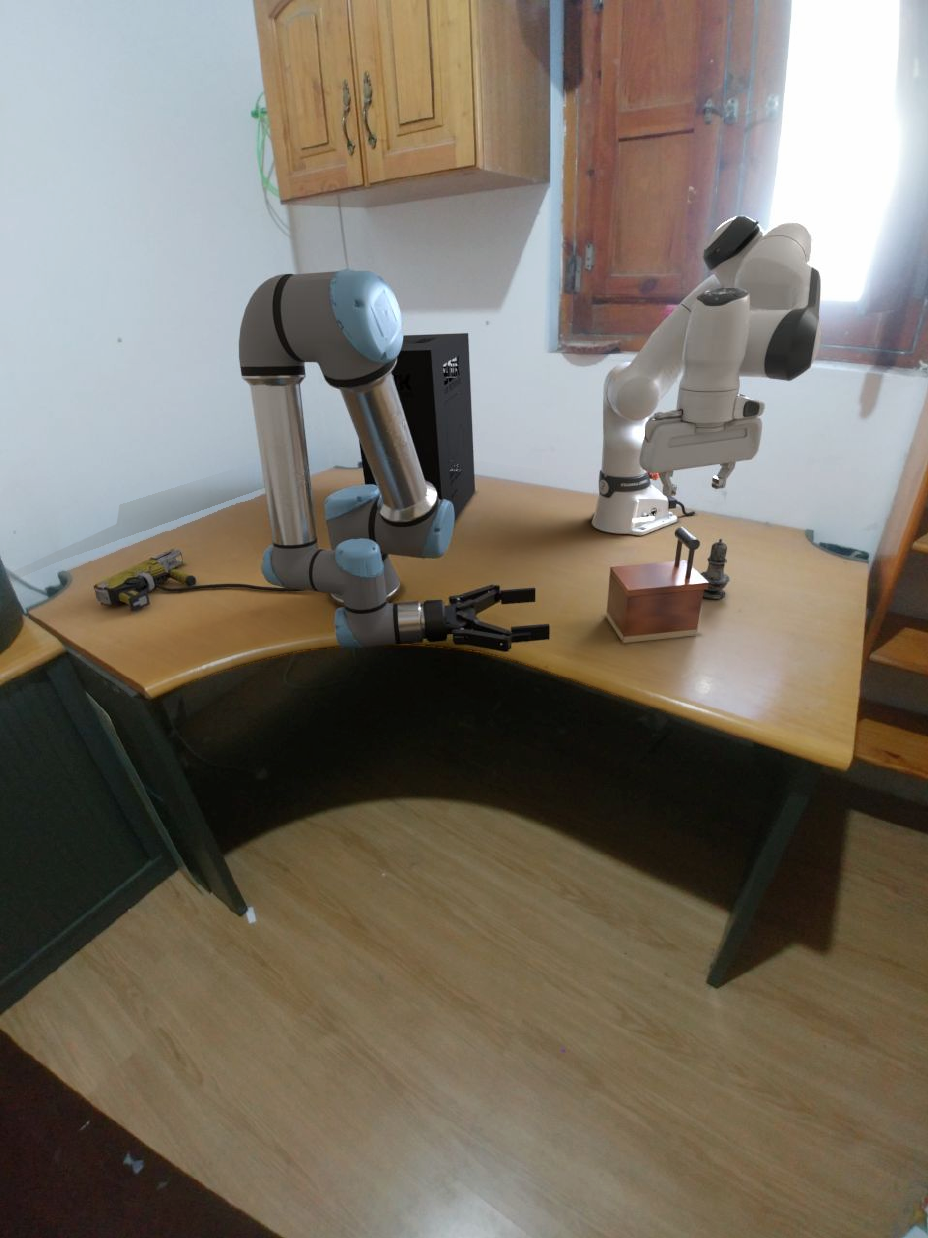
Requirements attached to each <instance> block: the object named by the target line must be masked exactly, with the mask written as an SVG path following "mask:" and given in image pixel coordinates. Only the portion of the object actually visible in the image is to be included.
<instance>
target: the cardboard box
mask: <svg viewBox="0 0 928 1238" xmlns="http://www.w3.org/2000/svg"><path fill="white" fill-rule="evenodd" d="M469 341H470V340H469V332H462V333H461V332H460V333H459V332H458V333H457V332H455V333H434V334H433V333H432V334H407V335H406V334H405V335H404V334H403V343H402V347H401V350H400V352H399V354H398V356H397V362H396V365H395V367H394V369H393V370H392V376H393V379H394V382H395V385H396V389H397V392H398V395H399V398H400V402H401V405H402V408H403V411H404V415H405V418H406V421H407V424H408V428H409V431H410V434H411V437H412V441H413V444H414V447H415V450H416V454H417V457H418V460H419V463H420V467H421V470H422V473H423V476H424V480H426V481H428V482H430V483H431V484H432V485H433V486H434V487H435V489H436V492H437V495H438V498H439V500H443V499H446V500H447V501H450V502H451V503H452V504H453V507H454V523H456V521H457V520H458V518H459V517H460V515H461V513H462V512H463V510H464V509H465V507H466V506H467V504H468V503H469V501H470V500H471V499H472V497H473V495H474V494H475V492H476V482H475V480H476V477H475V459H474V457H475V455H474V432H473V412H472V410H473V409H472V388H471V387H472V386H471V367H470V366H471V365H470V364H471V363H470V344H469V343H470V342H469ZM449 363H450V364H449ZM358 444H359V453H360V459H361V466H362V474H363V481H364V485H366V484H372V485H376V486H377V484H376V481H375V479H374V476H373V474H372V471H371V469H370V466H369V463H368V461H367V458H366V456H365V453H364V451H363V448H362V446H361V443H360V440H359V439H358Z"/></svg>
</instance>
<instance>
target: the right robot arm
mask: <svg viewBox="0 0 928 1238" xmlns="http://www.w3.org/2000/svg"><path fill="white" fill-rule="evenodd" d="M759 223H760V221H758V220H753V219H752V218H751V217H749V216H747V215H735V216H734V217H732V218H730V219H728V220H727V221H725V222H723V223H722V224H720V226H719V227H717V228H716V230H714V232H713V233H712V234H711V236H710V238H709V239H708V241H707V243H706V246H705V248H704V249H703V253H702V260H703V262H704V264H705V265H706V267H707V269H708V271H710V272H712V274H711V275H710V276H709V277H707V278H706V279H705V280H704V281H703V282H701V283H699V285H698V286H696V287H695V288H694V289H693V290H692V291H691V292H689V293H688V295H687V296H685V297H684V299H682V301H680V302H679V304H678V305H677V306H676V307H675V308H674V309H673V310H672V311H671V313H670V314H669V315H667V316H666V318H665V319H664V320H663V321H662V322H660V324H659V325H658V326H657V328H655V330H654V331H653V332H652V333H651V334H650V336H649V338H648V339H647V341H646V342H645V343H644V345H643V346H642V348H641V349H640V350H639V352H638V353H637V354H636V356H635V357H634V358H633V359H632V361H626V362H621V363H619V364H616V365H615V366H613V368H611V369H610V371H609V372H608V373H607V374H606V376H605V379H604V383H603V392H602V393H603V395H602V396H603V397H602V453H601V468H600V470H599V474H598V492H599V493H598V498H597V502H596V507H595V511H594V514H593V517H592V520H591V525H592V526H593V527H594V528H595V529H597V530H599V531H601V532H605V533H611V534H623V535H625V534H626V535H632V536H633V535H634V536H645V535H646V534H650V533H652V532H654V531H657V530H660V529H662V528H665V527H668V526H670V525H672V524H675V523H677V522H678V516H677V515H676V514H675V513H674V512H672V511H670V510H673V509H677V505H679V506H680V508H681V512H682V514H683V516H686V517H687V516H688V517H690V516H692V515H695V514H696V511H695V510H692V511H689V512H686V507H685V504H683V503H682V502H681V501H679V500H678V499H676V498H675V497H674V496H676V495H677V488H678V486H677V485H676V484H674V483H672V481H671V478H673V476H674V472H675V471H680V470H681V471H682V470H688V469H694V468H701V467H709V466H716V465H719V466H720V469H719V471H718V473H717V474H716V475H714V476H712V479H711V480H712V481H711V488H713V489H715V490H720V489H725V488H726V485H727V479H728V478H729V477H730V475H731V474H732V472H733V471H734V469H735V468H736V463H737V462H743V461H750V460H753V459H754V458H755V456H756V455H757V454H758V452H759V449H760V445H761V440H762V439H761V438H762V432H763V422H762V419H761V416H762V415H763V414H764V411H765V408H766V407H765V406H766V404H765V403H764V402H763V401H761V400H759V399H756V398H751V397H748V396H746V395H744V394H741V393H740V387H741V379H740V377H741V378H765V379H770V380H776V381H777V380H778V381H785V382H786V381H787V382H791V381H793V380H795V379H797V378H798V377H799V376H802V375H803V374H804V373H805V372H807V371H808V370H809V369H811V366H812V365H813V364H814V361H815V360H816V358H817V356H818V352H819V350H820V346H821V338H822V329H821V324H820V306H821V305H820V304H821V289H822V288H821V285H822V284H821V280H822V279H821V275H820V272H819V270H818V269H816V268H815V267H813V266H811V265H809V264H810V260H811V256H812V249H813V239H812V235H811V233H810V230H809V229H808V228H807V227H806V226H805V225H804V224H803V223H800V222H798V221H795V220H785V221H780V222H779V223H776V224H775V225H773V226H771V227H770V228H768V229H767V230H766V231H764V229H762V227H761V225H760V224H759ZM681 375H682V377H681V378H680V381H679V384H678V390H677V391H678V392H677V398H676V399H677V400H676V407H675V409H673V410H668V411H657V412H655V411H656V409H657V408H658V406H659V403H660V402H661V401H662V400H663V398H664V397H665V396H666V394H667V393H668V392H669V391H670V389H671V388H672V387H673V385H674V384H675V383H676V382H677V380H678V379H679V377H680V376H681ZM654 412H655V413H654ZM653 413H654V414H653ZM652 414H653V415H652ZM658 479H659V480H660V482H661V484H662V491H660V490H659V489H658V488H656V487H655V486H654V485H652V483H651V480H653V481H658Z"/></svg>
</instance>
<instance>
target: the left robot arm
mask: <svg viewBox="0 0 928 1238" xmlns="http://www.w3.org/2000/svg"><path fill="white" fill-rule="evenodd" d="M395 295H396V294H395V293H394V291H393V290H392V288H391V287H390V285H389V284H388V282H387V281H386V280H385V279H384V278H383V277H382V276H380V275H378V274H377V273H375V272H374V271H370V270H354V269H350V268H343V269H340V270H335V271H323V272H322V271H319V272H308V273H307V272H306V273H295V274H294V273H282V274H277V275H274V276H272V277H270V278H268V279H266V280H265V281H263V282H262V283H261V284H259V286H258V287H257V288H256V290H254V292H253V294H252V295H251V296H250V298H249V300H248V303H247V305H246V307H245V309H244V312H243V316H242V318H241V319H242V320H241V323H240V328H239V337H238V362H239V368H240V376H241V379H242V380H243V381H245V382H246V383H247V384H248V386H249V388H250V395H251V396H250V397H251V403H252V409H253V415H254V416H253V417H254V423H255V430H256V439H257V444H258V451H259V457H260V458H259V459H260V464H261V465H260V466H261V471H262V478H263V485H264V492H265V498H266V505H267V506H266V507H267V513H268V519H269V526H270V527H269V528H270V534H271V539H272V541H271V542H272V544H271V545H269V546H268V547H267V548H266V549H265V550H264V552H263V554H262V556H261V558H262V562H261V564H260V569H261V573H262V576H263V579H264V580H265V581H266V582H268V584H269V585H272V586H273V587H272V586H260V585H253V584H245V583H215V584H199V585H193V586H185V587H166V586H164V585H161V584H154V585H155V587H154V589H160V590H161V591H164V592H170V593H172V592H173V593H176V592H177V593H179V592H186V591H187V592H188V591H194V590H204V589H205V590H206V589H218V588H245V589H251V590H257V591H258V590H259V591H267V592H268V591H271V592H305V591H310V592H317V593H324V594H330V599H331V601H332V602H333V604H334V605H337V606H339V607H338V608H336V610H335V612H334V619H333V620H334V630H335V631H334V633H335V638H336V642H337V644H338V646H339V647H341V648H342V649H367V648H376V647H385V646H395V645H398V646H399V645H412V644H423V642H424V640H426V642H428V643H438V642H446V641H447V640H448V636H449V635H450V636H451V635H452V644H453V646H469V647H475V648H481V649H487V650H492V651H498V652H503V653H504V652H505V653H508V652H509V651H510V650H512V647H513V645H512V644H516V643H529V642H535V641H547V640H548V641H549V640H550V631H551V628H550V627H551V626H550V623H540V624H528V625H516V626H510V629H507V628H504V627H501V626H498V625H495V624H491V623H488V622H485V621H482V620H480V619H479V617H478V616H477V615H478V614H480V613H482V612H484V611H486V610H487V609H489V608H491V607H493V606H495V605H496V604H498V603H500V605H501V606H502V605H503V606H504V605H515V604H527V603H536V594H537V593H536V591H537V590H536V587H525V588H524V587H523V588H512V589H501V585H500V584H489V585H486V586H483V587H480V588H476V589H473V590H470V591H467V592H464V593H461V594H454V595H450V596H449V595H448V604H447V605H446V604H445V601H444V600H443V599H442V598H441V599H427V600H425V601H423V603H421V601H419V600H415V601H405V602H404V601H402V602H392V601H394V600H395V599H396V598H397V597H398V596H399V595H400V594H401V590H402V587H401V580H400V577H399V575H398V573H397V571H396V569H395V567H394V565H393V563H392V562H391V560H390V559H391V558H390V557H389V555H390V556H391V555H392V556H398V557H405V558H406V557H407V558H415V559H422V560H425V559H430V560H431V559H441V558H442V557H443V556H445V554H446V552H447V551H448V549H449V547H450V544H451V540H452V538H453V533H454V528H455V527H454V526H455V522H454V507H453V504H452V503H451V502H450V501H447V500H446V499H443V500H439V498H438V495H437V492H436V489H435V487H434V486H433V485H432V484H431V483H430V482H428V481H426V480H424V476H423V473H422V470H421V467H420V463H419V460H418V457H417V454H416V450H415V447H414V444H413V441H412V437H411V434H410V431H409V428H408V424H407V421H406V418H405V415H404V411H403V408H402V405H401V402H400V398H399V395H398V392H397V389H396V385H395V382H394V379H393V375H392V370H393V369H394V367H395V365H396V362H397V356H398V354H399V352H400V350H401V347H402V343H403V335H404V331H403V329H402V326H403V323H404V322H403V316H402V311H401V308H400V304H399V302H398V300H397V297H396V296H395ZM306 363H316V364H318V366H319V369H320V371H321V374H322V376H323V378H324V381H325V382H326V384H327V385H329V386H330V387H332V388H335V389H337V390H339V392H340V394H341V397H342V400H343V402H344V405H345V407H346V410H347V413H348V415H349V418H350V420H351V423H352V425H353V428H354V430H355V433H356V436H357V438H358V441H359V440H360V443H361V446H362V448H363V451H364V453H365V456H366V458H367V461H368V463H369V466H370V469H371V471H372V474H373V476H374V479H375V481H376V484H377V486H376V485H372V484H366V485H365V484H358V485H353V486H349V487H345V488H343V489H339V490H336V491H335V492H332V493H331V494H329V495H328V496H327V497H326V499H325V500H324V505H323V506H324V507H323V508H324V520H325V522H326V528H327V533H328V539H329V545H330V549H325V548H319V543H318V536H317V528H316V517H315V509H314V501H313V500H314V499H313V492H312V491H313V490H312V481H311V474H310V473H311V472H310V464H309V455H308V446H307V445H308V444H307V435H306V427H305V426H306V425H305V420H304V419H305V417H304V409H303V401H302V399H303V397H302V391H301V389H302V388H301V383H302V382H303V381H304V380H305V378H306V377H307V376H306ZM275 586H276V587H275Z"/></svg>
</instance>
